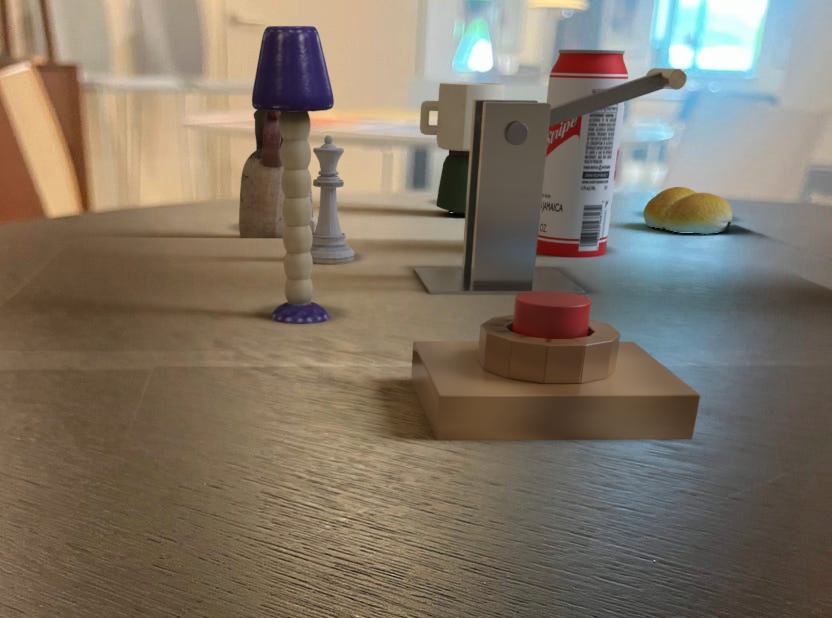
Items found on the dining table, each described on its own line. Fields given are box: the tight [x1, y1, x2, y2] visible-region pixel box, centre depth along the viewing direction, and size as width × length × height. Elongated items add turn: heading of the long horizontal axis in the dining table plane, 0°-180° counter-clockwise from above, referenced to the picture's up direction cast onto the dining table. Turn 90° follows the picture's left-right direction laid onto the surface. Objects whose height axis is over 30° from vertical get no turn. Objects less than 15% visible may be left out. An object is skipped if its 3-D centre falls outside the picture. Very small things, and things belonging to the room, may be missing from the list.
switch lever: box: [549, 67, 687, 126], centre depth 70 cm, size 13×5×2 cm, turn 94°
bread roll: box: [643, 186, 733, 233], centre depth 107 cm, size 8×9×4 cm
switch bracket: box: [414, 99, 586, 296], centre depth 73 cm, size 11×9×13 cm
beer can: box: [536, 49, 629, 258], centre depth 84 cm, size 6×6×16 cm
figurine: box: [238, 109, 317, 240], centre depth 93 cm, size 7×7×12 cm
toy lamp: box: [251, 25, 335, 325], centre depth 60 cm, size 5×5×17 cm
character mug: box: [419, 82, 506, 213], centre depth 112 cm, size 11×7×13 cm, turn 76°
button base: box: [410, 314, 701, 442], centre depth 50 cm, size 12×10×4 cm
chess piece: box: [310, 134, 356, 265], centre depth 80 cm, size 4×4×10 cm
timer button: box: [512, 291, 592, 339], centre depth 49 cm, size 4×4×2 cm
